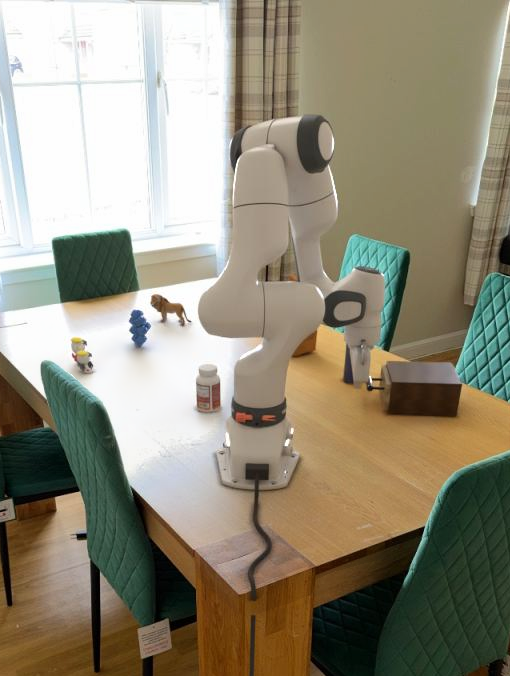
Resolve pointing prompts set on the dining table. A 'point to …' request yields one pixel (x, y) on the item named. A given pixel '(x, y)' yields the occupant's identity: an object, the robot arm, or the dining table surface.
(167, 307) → the lion figurine
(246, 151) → the robot arm
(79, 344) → the toy figures
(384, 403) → the drawer
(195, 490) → the dining table surface
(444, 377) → the cabinet
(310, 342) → the coffee package
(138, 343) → the grapes
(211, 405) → the pill bottle
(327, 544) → the dining table surface
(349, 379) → the pepper mill
